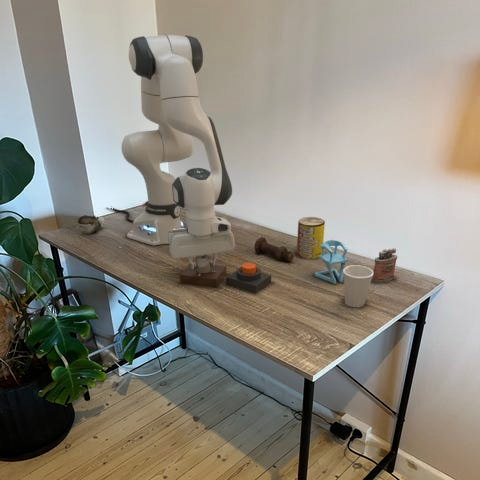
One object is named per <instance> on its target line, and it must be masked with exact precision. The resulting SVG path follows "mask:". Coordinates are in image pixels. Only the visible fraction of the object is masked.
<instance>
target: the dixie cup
mask: <svg viewBox="0 0 480 480" xmlns="http://www.w3.org/2000/svg"><path fill="white" fill-rule="evenodd" d="M343 273H344V274H343V291H344V293H343V294H344V304H345V305H346V306H348V307H351V308H361V307H363V306H365V303H366V300H367V296H368V293H369V290H370V285H371V283H372V278H373V274H374V270H373V269H372V268H370V267H368V266H364V265H359V264H353V265H348V266H345V268H344V269H343Z"/></svg>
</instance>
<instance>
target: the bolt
mask: <svg viewBox="0 0 480 480" xmlns="http://www.w3.org/2000/svg"><path fill="white" fill-rule="evenodd" d="M253 246H254V251H255V252H256V253H257V254H262V253H266V254H270V255H272V256H275V259H276V260H277V261H280V262H282V261H287V262H292V261H293V259H294V258H295V254H294V252H292V251H289V250H288V248H287V247H286V246H276V245H274V244H271V243H269V242H268V240H267V238H266V237H258V238H257V239H256V241H255V242H254V245H253Z"/></svg>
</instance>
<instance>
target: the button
mask: <svg viewBox="0 0 480 480" xmlns="http://www.w3.org/2000/svg"><path fill="white" fill-rule="evenodd" d="M241 267H242V273H244V274H254V273H256V267H257V265H256V264H255V263H253V262H245V263H242V264H241Z"/></svg>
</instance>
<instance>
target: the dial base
mask: <svg viewBox="0 0 480 480" xmlns="http://www.w3.org/2000/svg"><path fill="white" fill-rule="evenodd" d="M226 277H227V266H225V265H219V264H215V266H214V267H210V271H209V272H207V273H199V272H197V271H196V269H194V270H192V268H191V263H190V262H189V264H188V265H187V266H186V267H185V269H184V270H183V271H182V272H181V273H180V274H179V283H180V284H184V285H191V286H200V287H206V288H207V287H208V288H216V289H217V288H218V286H219V285H221V282H222V281H223V280H224V278H226Z"/></svg>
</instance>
